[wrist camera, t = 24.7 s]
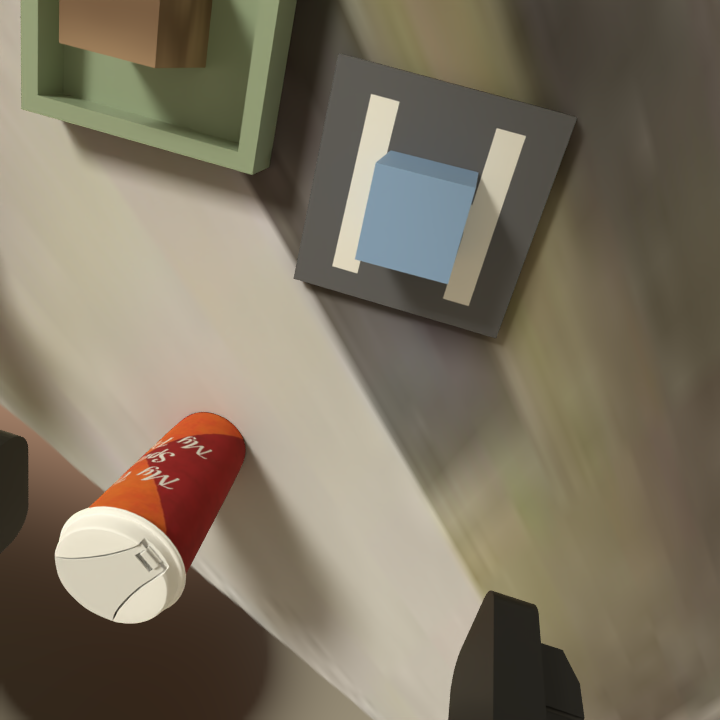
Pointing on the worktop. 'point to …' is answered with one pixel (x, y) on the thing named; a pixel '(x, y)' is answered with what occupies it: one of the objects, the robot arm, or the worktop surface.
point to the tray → (169, 85)
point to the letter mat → (440, 144)
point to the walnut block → (139, 30)
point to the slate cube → (416, 215)
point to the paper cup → (151, 522)
